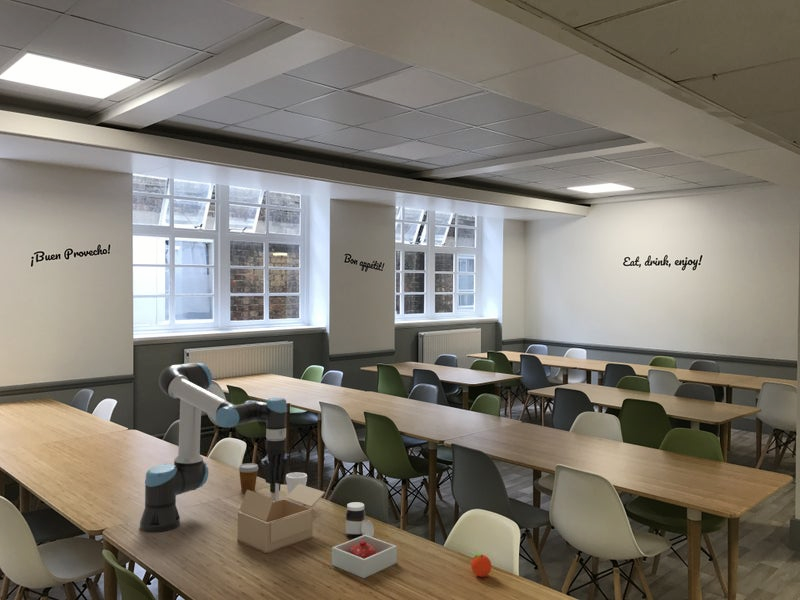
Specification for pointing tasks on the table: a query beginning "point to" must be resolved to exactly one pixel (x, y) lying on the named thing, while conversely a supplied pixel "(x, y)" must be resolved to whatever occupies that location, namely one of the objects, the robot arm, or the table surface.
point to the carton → (276, 526)
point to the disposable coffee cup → (248, 476)
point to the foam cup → (295, 481)
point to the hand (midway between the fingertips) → (275, 500)
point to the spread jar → (357, 521)
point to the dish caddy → (368, 565)
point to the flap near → (256, 505)
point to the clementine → (481, 565)
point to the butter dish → (363, 550)
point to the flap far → (305, 495)
